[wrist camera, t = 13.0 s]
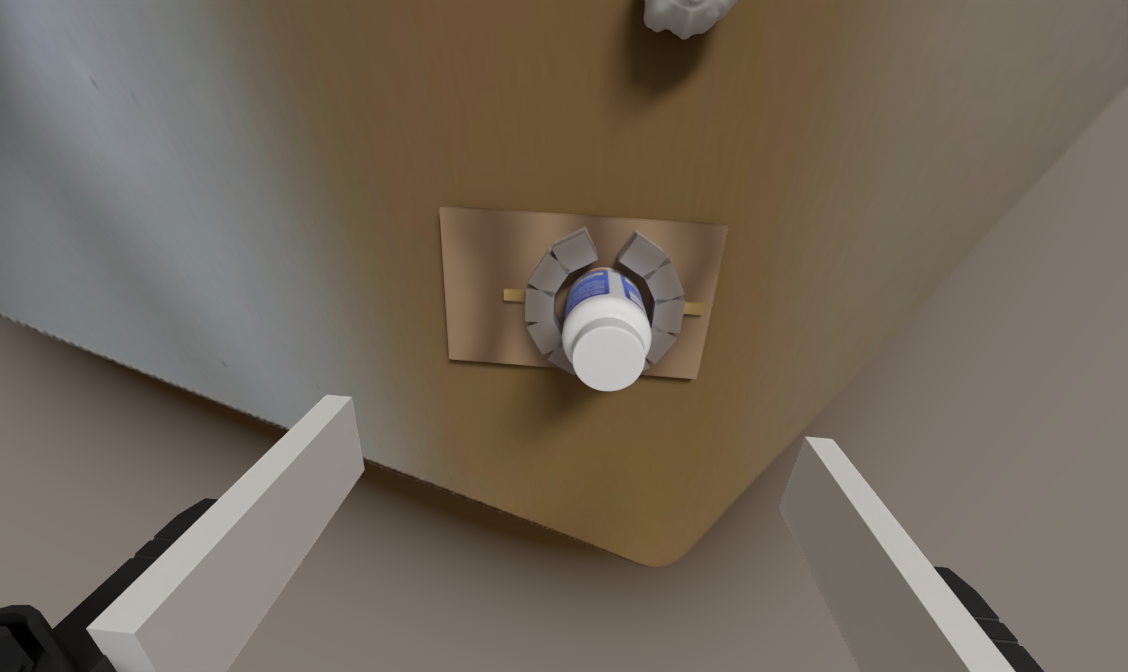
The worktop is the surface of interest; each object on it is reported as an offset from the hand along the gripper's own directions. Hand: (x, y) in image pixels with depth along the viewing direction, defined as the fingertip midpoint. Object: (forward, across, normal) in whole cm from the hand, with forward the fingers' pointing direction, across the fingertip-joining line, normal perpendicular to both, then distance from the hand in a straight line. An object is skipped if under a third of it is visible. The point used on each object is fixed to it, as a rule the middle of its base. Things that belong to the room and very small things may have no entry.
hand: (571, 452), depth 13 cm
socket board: (+21, 0, -3) cm, 21 cm away
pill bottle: (+20, +2, -2) cm, 21 cm away
